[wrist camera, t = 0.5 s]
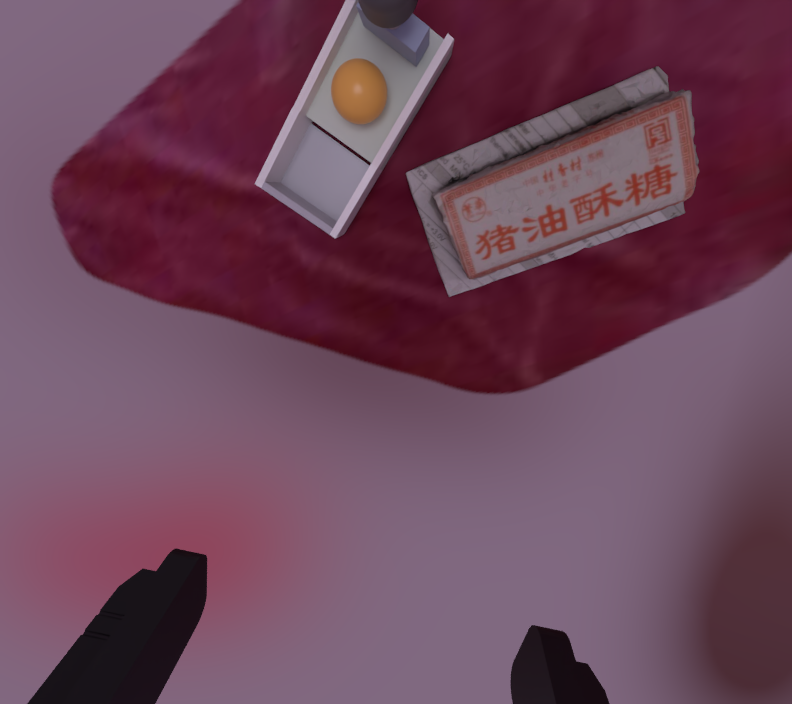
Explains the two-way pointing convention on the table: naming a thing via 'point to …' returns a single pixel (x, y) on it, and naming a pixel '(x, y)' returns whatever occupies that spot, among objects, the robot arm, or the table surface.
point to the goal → (316, 175)
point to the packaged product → (559, 182)
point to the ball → (359, 91)
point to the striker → (396, 26)
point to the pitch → (400, 75)
